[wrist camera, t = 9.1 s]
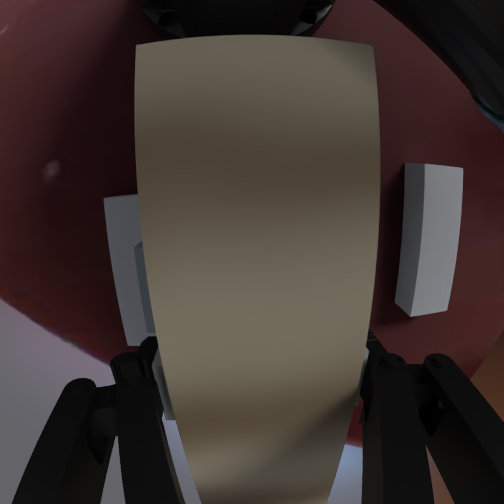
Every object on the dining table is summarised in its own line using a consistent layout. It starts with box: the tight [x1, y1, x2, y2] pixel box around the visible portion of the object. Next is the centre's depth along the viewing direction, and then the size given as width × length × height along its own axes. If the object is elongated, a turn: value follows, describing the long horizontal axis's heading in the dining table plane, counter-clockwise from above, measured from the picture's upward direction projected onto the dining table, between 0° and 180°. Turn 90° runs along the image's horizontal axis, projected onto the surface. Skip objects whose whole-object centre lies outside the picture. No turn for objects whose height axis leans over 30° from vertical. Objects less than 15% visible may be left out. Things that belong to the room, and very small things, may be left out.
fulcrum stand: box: [104, 194, 157, 346], centre depth 20 cm, size 12×20×8 cm, turn 92°
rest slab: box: [395, 163, 463, 317], centre depth 23 cm, size 12×4×3 cm, turn 2°
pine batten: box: [135, 35, 380, 504], centre depth 12 cm, size 22×6×6 cm, turn 2°
